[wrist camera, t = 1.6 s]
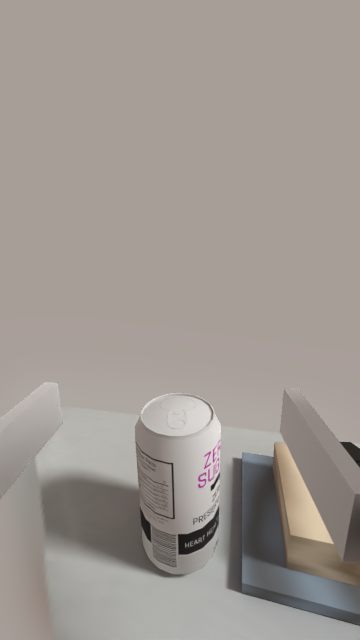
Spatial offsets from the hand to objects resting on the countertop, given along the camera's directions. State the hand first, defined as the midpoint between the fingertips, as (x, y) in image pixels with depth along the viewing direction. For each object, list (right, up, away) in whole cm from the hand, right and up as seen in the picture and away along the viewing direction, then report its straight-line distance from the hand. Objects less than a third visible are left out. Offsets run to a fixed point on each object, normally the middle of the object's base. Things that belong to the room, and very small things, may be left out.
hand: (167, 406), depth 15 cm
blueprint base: (+18, -18, +13) cm, 28 cm away
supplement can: (+1, -18, +13) cm, 23 cm away
